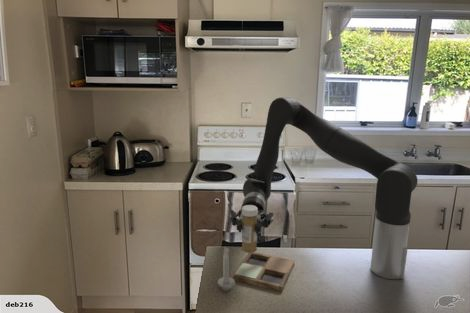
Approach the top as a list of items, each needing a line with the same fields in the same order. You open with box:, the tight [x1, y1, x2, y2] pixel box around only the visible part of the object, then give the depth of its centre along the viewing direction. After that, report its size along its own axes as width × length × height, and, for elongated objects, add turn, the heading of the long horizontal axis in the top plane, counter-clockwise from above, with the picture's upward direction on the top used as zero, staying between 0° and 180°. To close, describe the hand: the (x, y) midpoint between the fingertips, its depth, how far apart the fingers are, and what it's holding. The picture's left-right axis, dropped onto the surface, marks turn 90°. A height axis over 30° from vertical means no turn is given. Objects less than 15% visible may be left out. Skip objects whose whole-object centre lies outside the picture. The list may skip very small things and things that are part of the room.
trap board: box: [232, 251, 295, 293], centre depth 104 cm, size 15×15×2 cm
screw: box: [217, 246, 236, 292], centre depth 95 cm, size 13×5×5 cm
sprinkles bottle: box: [241, 205, 258, 254], centre depth 99 cm, size 5×5×14 cm
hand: (248, 229), depth 96 cm, fingers closed on sprinkles bottle, 4 cm apart
